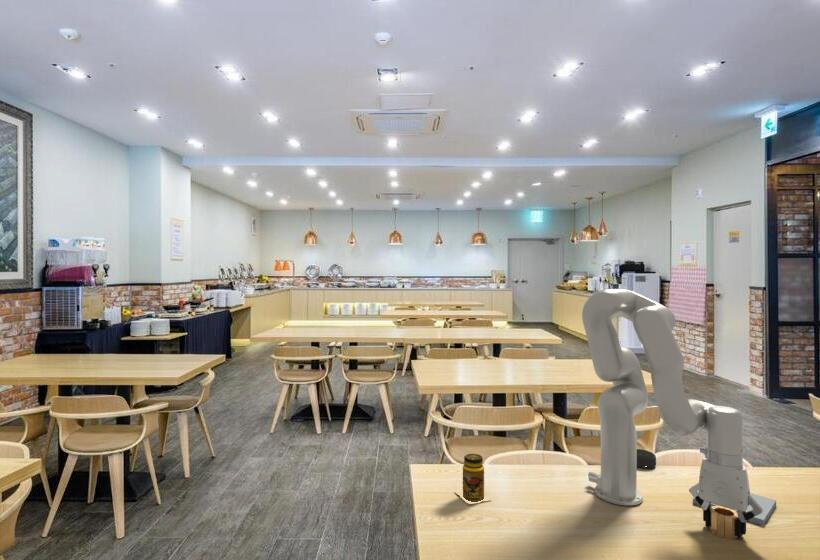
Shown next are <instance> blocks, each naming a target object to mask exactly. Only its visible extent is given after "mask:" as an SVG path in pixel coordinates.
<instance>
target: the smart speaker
mask: <svg viewBox="0 0 820 560" xmlns="http://www.w3.org/2000/svg"><path fill="white" fill-rule="evenodd" d="M656 465H657V456H656V455H655V454H654V453H653V452H652V451H650V450H647V449H642V448H641V449H639V448H637V468H639V467H645V466H647V467H645V468H644V469H653V468H655V467H656Z"/></svg>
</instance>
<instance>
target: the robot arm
mask: <svg viewBox="0 0 820 560" xmlns="http://www.w3.org/2000/svg"><path fill="white" fill-rule="evenodd" d="M581 318H582V323H583V327H584V331H585V335H586V339H587V343H588V348H589V349H588V350H589V353H590V357H591V360H592V364H593V368H594V369H593V370H594V373H595V374H596V376H597V377H598V379H600V380H601V381H604V382H607V383H612V385H613V386H611V387H608V388H606V389H605V390H603V391H602V392H601V394H600V395H599V397H598V400H597V410H598V416H599V426H600V474H599V473H596V472H593V471H589V472H588V475H587V477H588V481H589V482H592V483H595V484H596V486H595V488H594V494H595V495H596V496H597V498H600V499H601V500H603V501H605V502H608V503H611V504H614V505H619V506H628V507H629V506H637V505H640V504H641V503H643V500H644V497H643V493H641V491H640V490H638V489H637V487H638V486H637V481H638V480H637V478H638V477H637V475H638V474H637V472H638V471H637V468H638V467H637V449H638V447H637V445H638V444H637V441H638V440H637V438H638V437H637V429H636V425H635V416H637V415H639V414H640V413H642V412H643V411H645V409H646V408H647V407H648V403H649V396H648V395H649V394H648V390H647V386H646V383H645V379H644V378H645V377H644V376H643V375H644V374H643V371H642V368H641V367H642V366H641V364H640V363H641V362H640V361H639V359H638V356H636V354H635V353H634V352H633V351H632V350H631V349H629V348H627V347H625V346H621V344H620V343H621V342H620V340H619V335H618V332H617V330H616V328H615V326H614V325H613V322H612V320H613V319H614V318H624V319H626V320H628V321H630V322H632V325H633V328H634V331H635V334H636V336H637V338H638V340H639V343H640V345H641V348H642V350H643V352H644V354H645V357H646V359H647V361H648V365H649V368H650V378H651V385H652V390H653V395H654V398H655V399H654V400H655V401H656V404H657V406H658V410H659V411H660V413H661V416H662V418H663V421H664V422H665V424H666V425H667V427H668V428H669V429H670V430H671V431H673V432H674V433H675V434H677V435H679V436H690V435H693V434H694V433H696V432H698V431H700V430H705V431H706V432H705V435H706V437H705V445H706V446H705V447H699V453H700V454H703V455H704V456H705V457H704V458H702V460H701V464H700V469H699V475H698V476H699V477H698V479H699V480H698V482H697V483H696V484H695V485H692V486H691V487H690V488H689V489H688V492H689V493H690V494H691V496H692V498H695V499H696V501H697V502H698V503H699V504H700V506H699V507H701V509H702V515H703V516H702V521H703V522H704V523H705V524H704V525H705V527H707V528H709V508H710V504H711V503H713V504H716V505H720V506H723V507H726V508H729V509H733V510H736V512H737V515H738V517H739V520H738V521H737V537H738V538H737V539H741V538H743V537H742V536H743V535H745V536H746V534H747V522H748V521H747V520H749V519H751V518H753V517H755V516H757V515H759V514H761V513H762V512H763V509H762V508H761V507H760V506H759V504H758V503H757V502H756V501H755V500H754V499H753V498H752V497H751V495H750V493H751V490H750V482H749V481H750V480H749V476H748V471H747V467H746V466H745V465H744V464H743V463H744V458H743V457H744V453H743V451H744V450H743V449H744V446H743V444H744V443H743V442H744V440H743V439H744V437H743V435H744V430H743V429H744V428H743V427H744V425H743V424H744V419H743V418H744V416H743V414H742V412H741V411H740V410H738V409H737V408H733V407H730V406H723V405H714V404H711V403H708V402H705V401H701V400H698V399H692V398H689V399H688V397H687V393H686V392H685V389H684V384H683V370H684V365H685V359H684V355H683V353H682V351H681V349H680V346H679V344H678V342H677V340H676V337H675V335H674V333H673V330H674V328H675V327H676V317H675V315H674V312H673V311H672V310H671V309H670V308H668V307H667V306H664V305H663V304H661V303H658V302H656V301H654V300H651V299H649V298H648V297H645V296H644V295H641V294H639V293H637V292H634V291H633V290H630V289H625V288H605V289H601V290H599V291H596V292H595V293H593V294H592V295H591V296H590V297H588V298H587V299H586V301H585V302H584V305H583V308H582V312H581ZM749 505H750V506H751V507H752V508H753V510H750V511H748V512H746V509H747V507H748V506H749Z"/></svg>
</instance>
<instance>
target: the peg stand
mask: <svg viewBox="0 0 820 560" xmlns="http://www.w3.org/2000/svg"><path fill="white" fill-rule="evenodd" d="M750 495H751V497H752V498H753V499H754V500H755V501H756V502H757V503H758V504H759V506H760V507H761V508H762V509H763V512H762V513H761V514H759V515H757V516H755V517H753V518H751V519H749V520H747V521H746V522H750V523H753V524H757V525H759V526H763V527H764V526H765V525H766V524H767V521H768V520H769V519H770V517H771V515H772V514H773V512H774V510H775V508H776V507H777V500H776V499H773V498H769V497H765V496H761V495H759V494H755V493H751V492H750ZM692 504H693V505H695V506H699V507H701V506H700V504H699V503H698V502H697V501H696V499H695V498H694V497H692ZM711 506H720V505H716V504H713V503H711V504H710V507H711ZM721 507H723V506H721ZM732 510H733V509H732ZM750 510H753V508H752V507H751V506H750V505H749V506H748V507H747V509H746V512H748V511H750ZM734 511H736V510H734Z"/></svg>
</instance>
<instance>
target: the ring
mask: <svg viewBox="0 0 820 560" xmlns="http://www.w3.org/2000/svg"><path fill="white" fill-rule="evenodd" d="M738 520H739V517H738V515H737V512H736V511H734V510H732V509H729V508H726V507H721V506H711V507H710V508H709V527H708V528H709V530H710V532H711V533H712V534H715V535H716V536H718V537H721V538H724V539H730V540H734V539H735V540H737V539H739V538H738V537H737V521H738Z"/></svg>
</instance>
